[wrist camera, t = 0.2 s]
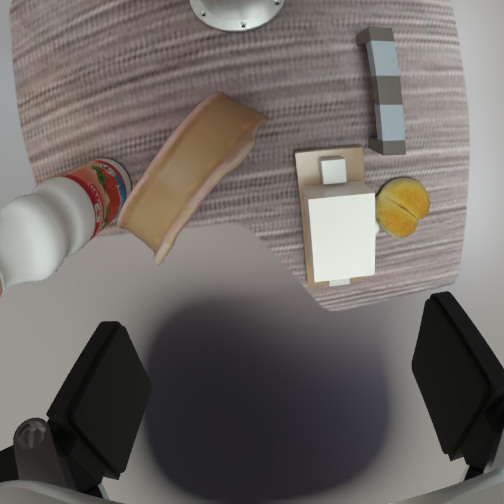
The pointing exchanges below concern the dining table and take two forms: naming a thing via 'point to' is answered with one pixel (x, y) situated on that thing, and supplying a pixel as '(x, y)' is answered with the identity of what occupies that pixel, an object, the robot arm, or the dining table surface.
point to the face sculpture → (188, 170)
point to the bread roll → (401, 206)
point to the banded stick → (385, 90)
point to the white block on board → (336, 215)
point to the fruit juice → (59, 219)
